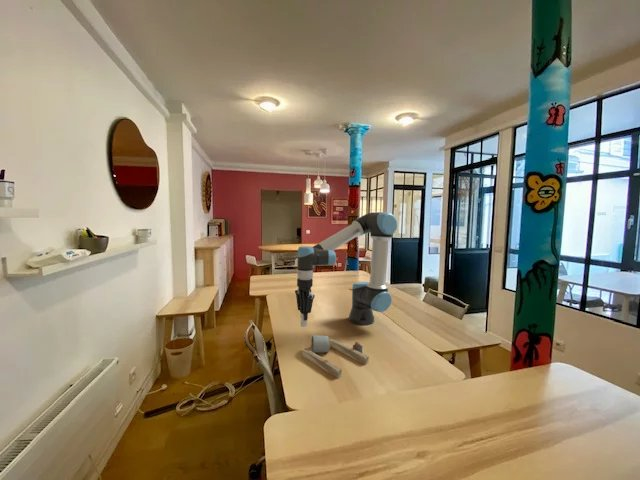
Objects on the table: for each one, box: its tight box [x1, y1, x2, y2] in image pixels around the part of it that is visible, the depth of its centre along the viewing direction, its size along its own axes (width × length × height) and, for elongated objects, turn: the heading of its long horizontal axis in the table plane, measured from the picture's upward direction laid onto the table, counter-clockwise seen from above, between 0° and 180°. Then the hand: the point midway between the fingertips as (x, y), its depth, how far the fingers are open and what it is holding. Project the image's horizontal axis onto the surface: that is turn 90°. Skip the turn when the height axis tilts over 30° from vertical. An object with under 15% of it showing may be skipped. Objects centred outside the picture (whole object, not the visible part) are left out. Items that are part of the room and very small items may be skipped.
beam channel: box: [301, 338, 370, 379], centre depth 125 cm, size 22×23×5 cm
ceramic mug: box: [310, 334, 331, 354], centre depth 132 cm, size 11×8×8 cm
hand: (303, 325), depth 139 cm, fingers closed
